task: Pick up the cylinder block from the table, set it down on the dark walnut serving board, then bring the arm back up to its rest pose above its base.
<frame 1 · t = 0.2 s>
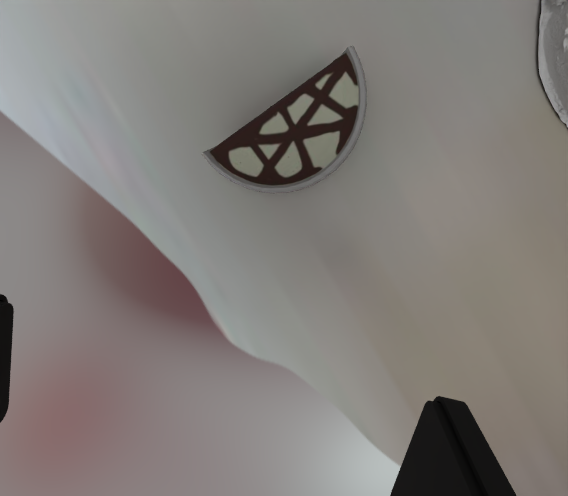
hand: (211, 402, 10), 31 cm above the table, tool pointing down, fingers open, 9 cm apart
food container: (301, 136, 38), on the table
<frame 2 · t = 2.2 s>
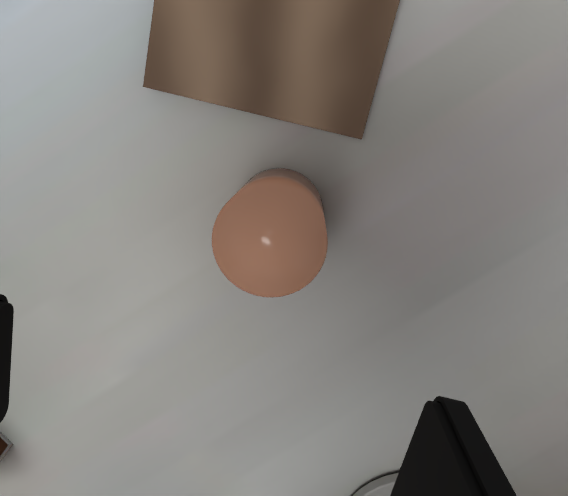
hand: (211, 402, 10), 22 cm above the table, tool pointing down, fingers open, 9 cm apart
cylinder block: (279, 212, 31), on the table
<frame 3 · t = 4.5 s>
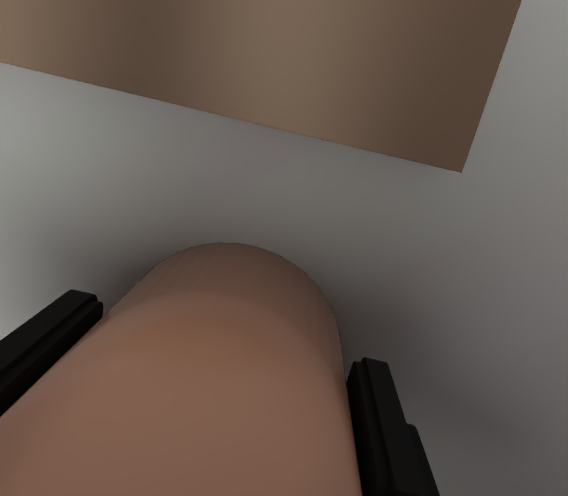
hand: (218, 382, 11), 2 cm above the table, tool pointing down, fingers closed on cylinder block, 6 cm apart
cylinder block: (229, 348, 12), on the table, touching gripper
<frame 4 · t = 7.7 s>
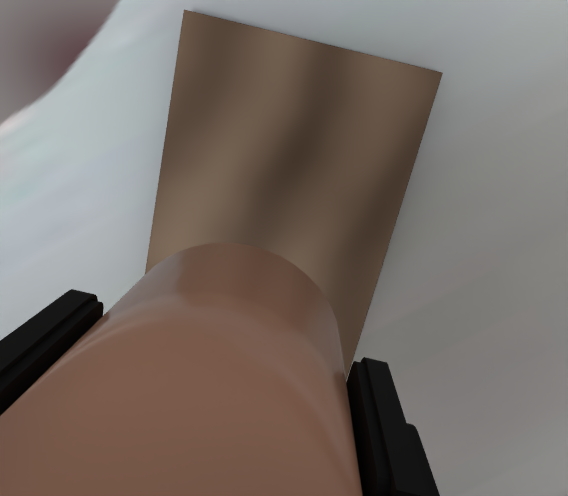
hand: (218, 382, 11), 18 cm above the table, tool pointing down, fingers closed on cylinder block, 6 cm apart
serving board: (274, 217, 27), on the table
cylinder block: (229, 348, 12), point 16 cm above the table, touching gripper
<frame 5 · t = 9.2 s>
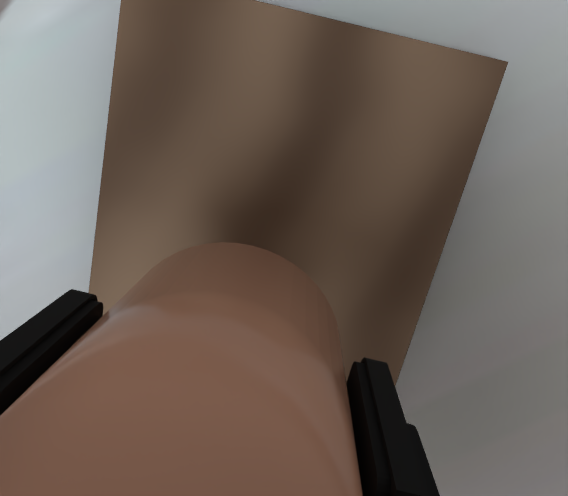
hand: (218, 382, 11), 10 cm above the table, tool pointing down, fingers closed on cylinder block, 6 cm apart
serving board: (261, 264, 20), on the table
cylinder block: (229, 348, 12), point 8 cm above the table, touching gripper
when the fingers open (4 cm above the table, at t = 10.7 s): cylinder block stays where it is, resting on serving board.
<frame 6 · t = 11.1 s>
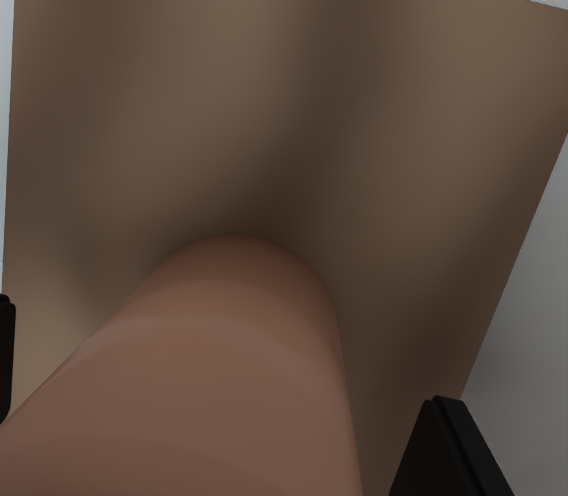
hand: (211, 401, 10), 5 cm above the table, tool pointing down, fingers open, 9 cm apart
serving board: (241, 313, 14), on the table
cylinder block: (236, 333, 13), point 1 cm above the table, touching serving board
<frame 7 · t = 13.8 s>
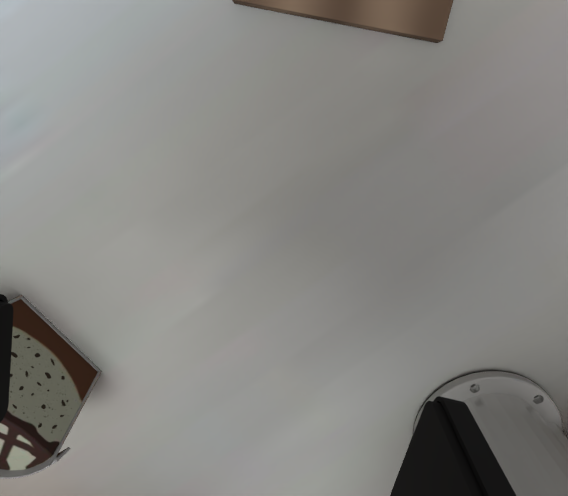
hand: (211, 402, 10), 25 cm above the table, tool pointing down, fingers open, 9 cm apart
food container: (40, 352, 39), on the table
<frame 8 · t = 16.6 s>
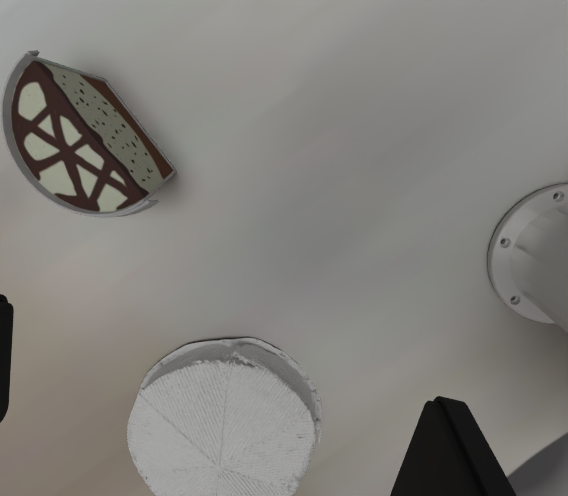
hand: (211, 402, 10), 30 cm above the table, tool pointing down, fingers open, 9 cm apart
food container 2: (228, 417, 47), on the table
food container: (117, 147, 39), on the table
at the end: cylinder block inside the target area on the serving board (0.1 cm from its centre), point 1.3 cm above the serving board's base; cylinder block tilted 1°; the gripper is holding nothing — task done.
